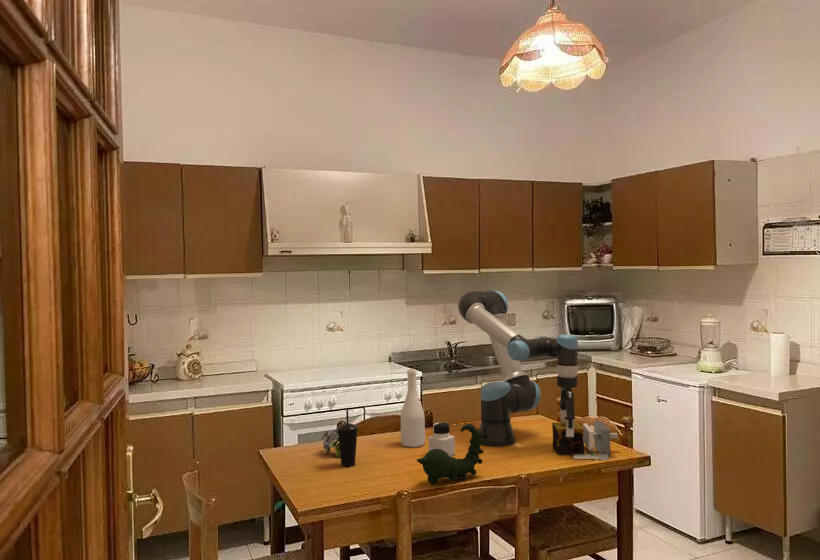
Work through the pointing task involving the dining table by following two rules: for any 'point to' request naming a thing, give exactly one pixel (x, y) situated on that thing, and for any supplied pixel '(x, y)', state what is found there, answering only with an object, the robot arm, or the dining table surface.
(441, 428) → the medicine bottle
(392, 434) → the dining table surface
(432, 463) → the toy figurine
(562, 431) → the black and yellow cube
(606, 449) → the grey open frame block
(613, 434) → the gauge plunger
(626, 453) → the dining table surface
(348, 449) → the drinking cup
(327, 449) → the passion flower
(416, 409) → the wine bottle
